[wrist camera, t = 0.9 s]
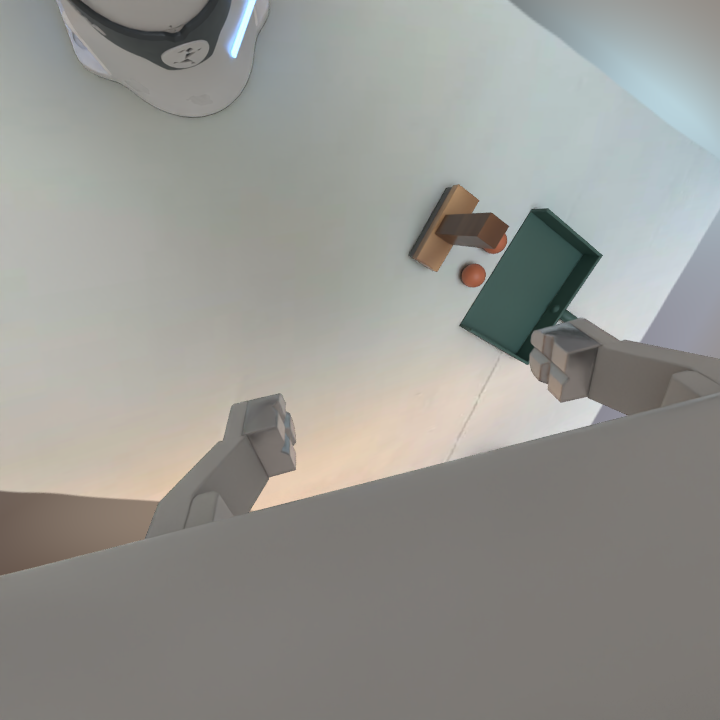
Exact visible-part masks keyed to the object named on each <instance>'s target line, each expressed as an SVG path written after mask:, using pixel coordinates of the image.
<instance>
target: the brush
mask: <svg viewBox="0 0 720 720" xmlns="http://www.w3.org/2000/svg"><path fill="white" fill-rule="evenodd" d="M478 202H479V200H478V199H477V198H476V197H474V196H473V195H472V194H471V193H469V192H468V191H467V190H465V189H464V188H463V187H462V186H460V185H459V184H458V185H453V187H450V188H446V190H445V191H444V193H443V195H442V197H441V199H440V200H439V202H438V204H437V206H436V207H435V209H434V211H433V213H432V214H431V216H430V218H429V220H428V222H427V223H426V225H425V227H424V229H423V230H422V232H421V234H420V236H419V238H418V239H417V241H416V243H415V245H414V246H413V248H412V250H411V252H410V253H409V256H410V257H412V258H413V259H415V260H416V261H418V262H419V263H421V264H423V265H424V266H426V267H427V268H429V269H430V270H432V271H435V272H437V271H438V270H439V268H440V266H441V265H442V263H443V261H444V260H445V258H446V256H447V254H448V253H449V251H450V249H451V248H452V246H453V245H460V246H469V247H478V248H487V249H496V247H497V245H498V244H499V242H500V240H501V239H502V237H503V235H504V234H505V232H506V231H507V229H508V227H509V226H508V225H507V224H505V223H504V222H503V221H502V220H500V219H499V218H498V217H496V216H495V215H494V214H493V213H472V212H473V210H474V208H475V207H476V205H477V203H478Z"/></svg>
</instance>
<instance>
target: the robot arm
mask: <svg viewBox="0 0 720 720" xmlns="http://www.w3.org/2000/svg"><path fill="white" fill-rule="evenodd" d="M56 2H57V5H58V7H59V10H60V13H61V16H62V18H63V21H64V24H65V26H66V29H67V32H68V35H69V37H70V40H71V43H72V46H73V48H74V51H75V54H76V56H77V58H78V60H79V61H80V62H81V63H82V65H83V66H84V67H85V68H86V69H87V70H88V71H90V72H91V73H93V74H95V75H98V76H100V77H103V78H106V79H109V80H112V81H116V82H119V83H121V84H122V85H124V86H126V87H127V88H129V89H130V90H131V91H132V92H134V93H135V94H136V95H138V96H139V97H140V98H142V99H143V100H145V101H146V102H148V103H149V104H151V105H153V106H154V107H156V108H158V109H161V110H163V111H165V112H168V113H171V114H175V115H179V116H185V117H201V116H207V115H211V114H214V113H216V112H219V111H221V110H222V109H224V108H226V107H227V106H228V105H230V104H231V103H232V102H233V101H234V100H235V99H236V98H237V97H238V96H239V94H240V93H241V92H242V90H243V89H244V87H245V85H246V83H247V81H248V78H249V76H250V73H251V69H252V65H253V58H254V50H255V43H256V38H257V35H258V34H259V32H260V30H261V28H262V27H263V25H264V23H265V21H266V19H267V17H268V14H269V0H56ZM531 343H532V344H533V346H534V349H533V350H532V351H531V353H530V356H529V364H530V367H531V371H532V373H533V374H534V376H535V377H536V378H537V379H538V380H539V381H540V382H543V383H546V384H548V390H549V391H550V392H551V393H552V394H553V395H554V396H555V397H556V398H557V399H558V400H559V401H560V402H566V401H570V400H575V399H579V398H583V397H588V398H589V399H592V400H594V401H596V402H599V403H601V404H603V405H605V406H608V407H610V408H612V409H614V410H617V411H619V412H621V413H624V414H626V415H628V416H625V417H621V418H617V419H613V420H609V421H605V422H601V423H597V424H593V425H590V426H586V427H582V428H578V429H574V430H570V431H566V432H562V433H558V434H554V435H550V436H546V437H542V438H539V439H535V440H531V441H527V442H523V443H519V444H515V445H511V446H507V447H503V448H499V449H495V450H492V451H488V452H484V453H480V454H476V455H472V456H468V457H464V458H461V459H457V460H453V461H449V462H445V463H441V464H437V465H433V466H430V467H426V468H422V469H418V470H414V471H410V472H406V473H402V474H398V475H394V476H390V477H387V478H383V479H379V480H375V481H371V482H367V483H363V484H359V485H355V486H351V487H347V488H343V489H340V490H336V491H332V492H328V493H324V494H320V495H316V496H312V497H308V498H304V499H300V500H297V501H293V502H289V503H285V504H281V505H277V506H273V507H269V508H265V509H261V510H257V511H253V512H250V513H249V511H250V510H251V508H252V506H253V505H254V503H255V501H256V500H257V498H258V496H259V495H260V493H261V491H262V490H263V488H264V486H265V485H266V483H267V481H268V480H269V477H272V476H276V475H279V474H283V473H286V472H290V471H294V470H296V452H295V449H294V447H293V446H294V444H295V443H296V433H295V427H294V423H293V420H292V417H291V415H290V413H288V412H286V402H285V400H284V398H283V395H282V394H281V393H279V394H275V395H270V396H266V397H261V398H257V399H253V400H249V401H244V402H240V403H236V404H233V405H232V406H231V409H230V413H229V418H228V422H227V426H226V430H225V434H224V438H223V441H220V442H218V443H217V444H216V445H215V446H214V447H213V448H212V449H211V450H210V451H209V452H208V453H207V454H206V455H205V456H204V457H203V458H202V459H201V460H200V461H199V462H198V463H197V464H196V465H195V466H194V467H193V468H192V469H191V470H190V471H189V472H188V473H187V474H186V475H185V476H184V477H183V478H182V479H181V480H180V481H179V482H178V483H177V484H176V486H175V487H174V488H173V489H172V490H171V491H170V492H169V493H168V494H167V495H166V496H165V497H164V498H163V499H162V500H161V501H160V502H159V503H158V505H157V508H156V511H155V513H154V516H153V518H152V521H151V524H150V526H149V529H148V532H147V534H146V537H145V539H144V540H140V541H136V542H132V543H128V544H124V545H120V546H116V547H113V548H109V549H105V550H101V551H97V552H93V553H89V554H85V555H81V556H77V557H73V558H70V559H66V560H62V561H58V562H54V563H50V564H46V565H42V566H38V567H34V568H30V569H26V570H22V571H18V572H14V573H10V574H5V575H1V576H0V720H720V359H717V358H713V357H708V356H702V355H697V354H693V353H687V352H683V351H678V350H673V349H668V348H663V347H658V346H653V345H648V344H643V343H638V342H633V341H628V340H623V341H620V340H618V339H616V338H615V337H613V336H612V335H610V334H608V333H607V332H605V331H604V330H602V329H600V328H599V327H597V326H596V325H594V324H593V323H591V322H589V321H588V320H586V319H583V318H578V319H574V320H571V321H567V322H564V323H561V324H557V325H554V326H550V327H546V328H542V329H538V330H534V331H533V333H532V335H531Z"/></svg>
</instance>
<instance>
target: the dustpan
mask: <svg viewBox="0 0 720 720" xmlns="http://www.w3.org/2000/svg"><path fill="white" fill-rule="evenodd" d="M582 255H583V256H582ZM602 256H603V255H602V254H600V253H599V252H598V251H597V250H596V249H595V248H593V247H592V246H591V245H590V244H589V243H588V242H587V241H585V240H584V239H583V238H582V237H581V236H580V235H578V234H577V233H576V232H575V231H574V230H573V229H571V228H570V227H569V226H568V225H567V224H566V223H564V222H563V221H562V220H561V219H560V218H559V217H557V216H556V215H555V214H554V213H553V212H552V211H550V210H549V209H548V208H546V209H532V210H531V211H530V213H529V215H528V216H527V218H526V219H525V221H524V223H523V224H522V226H521V228H520V229H519V231H518V232H517V234H516V236H515V237H514V239H513V240H512V242H511V244H510V245H509V247H508V248H507V250H506V252H505V253H504V255H503V256H502V258H501V260H500V261H499V263H498V265H497V266H496V268H495V269H494V271H493V273H492V274H491V276H490V277H489V279H488V281H487V282H486V284H485V285H484V287H483V289H482V290H481V292H480V294H479V295H478V297H477V298H476V300H475V302H474V303H473V305H472V306H471V308H470V310H469V311H468V313H467V314H466V316H465V318H464V319H463V321H462V322H461V324H460V326H461V327H462V328H464V329H466V330H468V331H469V332H471V333H473V334H474V335H476V336H478V337H480V338H481V339H483V340H485V341H486V342H488V343H490V344H492V345H493V346H495V347H497V348H498V349H500V350H502V351H504V352H505V353H507V354H509V355H510V356H512V357H514V358H516V359H517V360H519V361H521V362H523V363H525V364H527V365H528V364H529V356H530V353H531V351H532V350H533V349H534V346H533V344H532V343H531V335H532V333H533V331H534V330H538V329H542V328H546V327H550V326H554V325H556V323H557V322H558V320H559V319H561V320H562V321H564V322H567V321H571V320H574V319H578V318H577V317H576V316H574V315H573V314H571V313H570V312H569V311H567V310H566V309H567V307H568V306H569V304H570V303H571V301H572V300H573V298H574V297H575V295H576V294H577V292H578V291H579V289H580V288H581V286H582V285H583V284H584V282H585V281H586V279H587V278H588V276H589V275H590V273H591V272H592V270H593V269H594V267H595V266H596V264H597V263H598V262H599V260H600V259H601V257H602ZM580 258H581V259H580ZM578 261H579V262H578ZM576 264H577V265H576ZM574 267H575V268H574ZM572 270H573V271H572ZM570 273H571V274H570ZM568 276H569V277H568ZM566 279H567V280H566ZM564 282H565V283H564ZM562 285H563V286H562ZM560 288H561V289H560ZM558 291H559V292H558ZM529 334H530V335H529ZM527 337H528V338H527ZM525 340H526V341H525ZM523 343H524V344H523ZM521 346H522V347H521ZM519 349H520V350H519ZM517 352H518V353H517Z"/></svg>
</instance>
